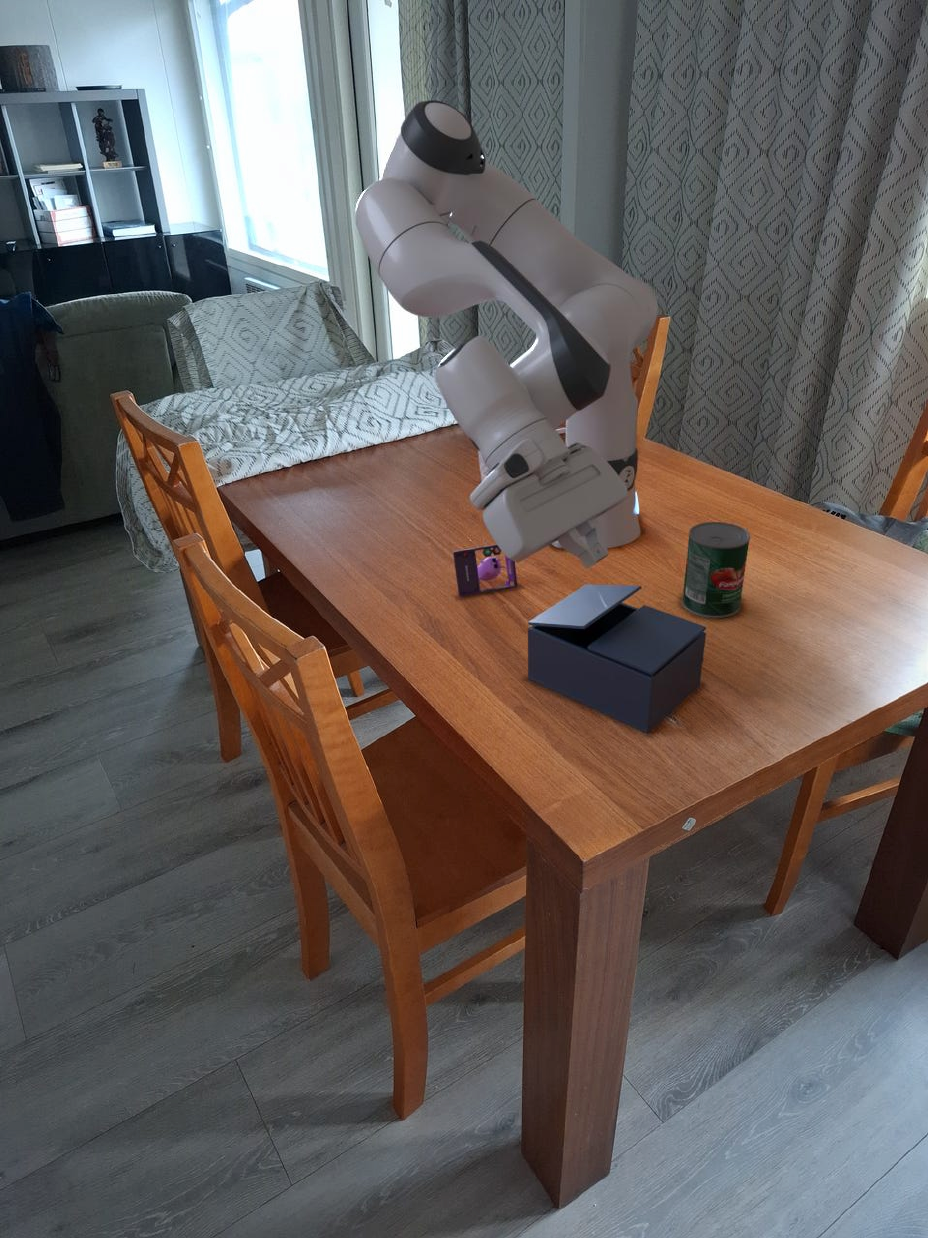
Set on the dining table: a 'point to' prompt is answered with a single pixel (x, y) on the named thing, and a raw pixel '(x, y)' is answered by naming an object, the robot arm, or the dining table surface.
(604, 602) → the flap
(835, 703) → the dining table surface
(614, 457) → the robot arm
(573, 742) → the dining table surface
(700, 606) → the canned tomato
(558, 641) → the carton
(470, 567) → the game card
